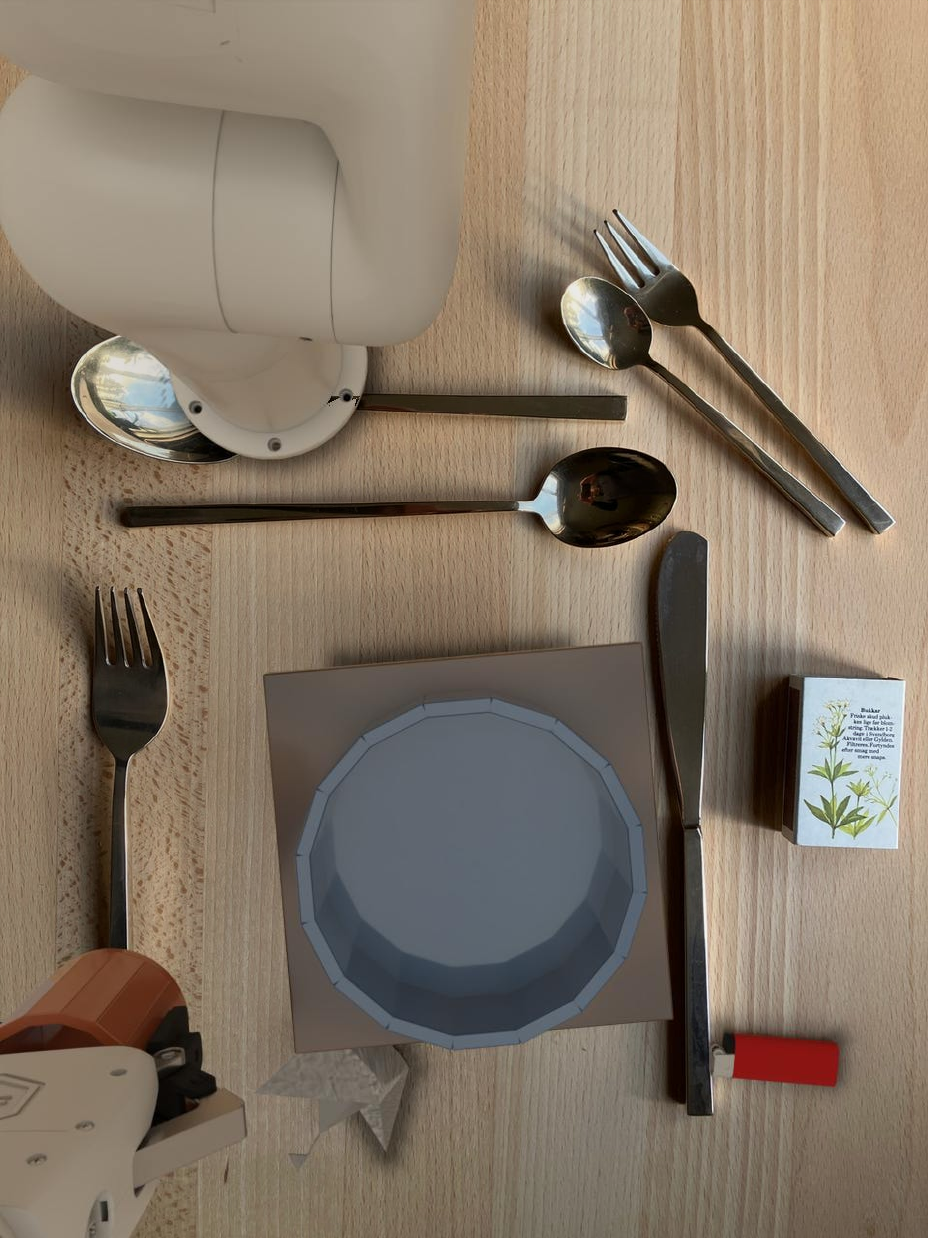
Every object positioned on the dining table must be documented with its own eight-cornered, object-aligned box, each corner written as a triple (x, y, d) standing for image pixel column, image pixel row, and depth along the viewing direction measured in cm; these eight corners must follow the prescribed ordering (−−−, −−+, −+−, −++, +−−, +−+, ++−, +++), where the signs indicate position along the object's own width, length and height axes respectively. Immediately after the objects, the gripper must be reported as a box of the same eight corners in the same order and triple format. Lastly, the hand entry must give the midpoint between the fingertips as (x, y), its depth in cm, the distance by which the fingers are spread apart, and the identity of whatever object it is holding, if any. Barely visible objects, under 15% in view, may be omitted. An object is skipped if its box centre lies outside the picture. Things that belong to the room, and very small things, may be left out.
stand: (326, 653, 68) (262, 674, 44) (572, 632, 68) (642, 642, 44) (347, 900, 68) (294, 1055, 44) (593, 878, 68) (673, 1020, 44)
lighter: (835, 1091, 67) (711, 1080, 67) (828, 1082, 69) (706, 1071, 68) (840, 1047, 67) (716, 1036, 67) (832, 1039, 69) (710, 1028, 68)
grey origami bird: (468, 1087, 67) (391, 1227, 65) (411, 1043, 72) (338, 1172, 70) (339, 1017, 61) (248, 1171, 58) (287, 976, 66) (201, 1115, 63)
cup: (28, 954, 48) (-48, 1021, 41) (182, 941, 48) (134, 1005, 41) (43, 1105, 48) (-31, 1199, 41) (196, 1092, 48) (150, 1183, 41)
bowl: (298, 704, 44) (282, 714, 40) (612, 677, 44) (631, 684, 40) (325, 1018, 44) (311, 1064, 40) (638, 990, 44) (660, 1032, 40)
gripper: (185, 1166, 28) (286, 944, 46) (-478, 1227, 28) (-117, 980, 45) (210, 1443, 28) (301, 1115, 46) (-449, 1506, 28) (-100, 1151, 46)
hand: (92, 1049), depth 45 cm, fingers closed on cup, 7 cm apart
